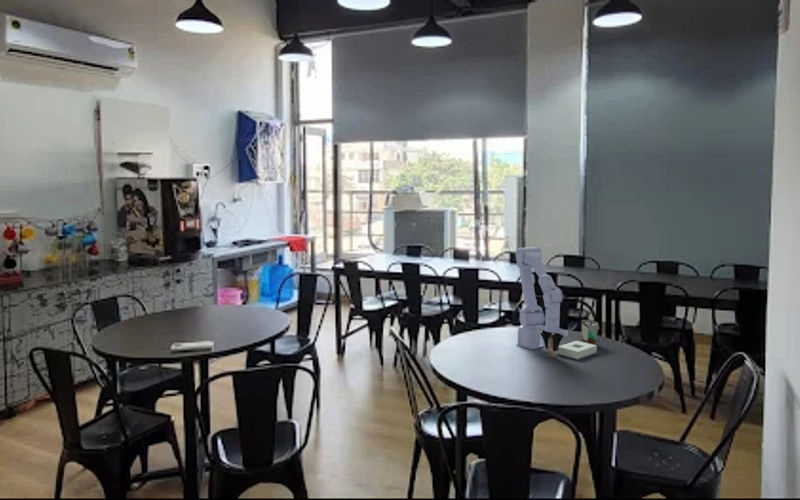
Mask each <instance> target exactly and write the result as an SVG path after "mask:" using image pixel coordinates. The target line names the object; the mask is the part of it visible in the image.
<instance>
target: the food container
mask: <svg viewBox="0 0 800 500" xmlns="http://www.w3.org/2000/svg"><path fill="white" fill-rule="evenodd" d="M580 325H581V342H584V343H589V344H593V345H597V338H598V331H599V329H600V325H599V322H597V321H593V320H589V319H581V324H580Z"/></svg>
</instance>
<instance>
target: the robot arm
mask: <svg viewBox="0 0 800 500" xmlns="http://www.w3.org/2000/svg"><path fill="white" fill-rule="evenodd" d="M542 259H543V253H542V250H541V248H540V247H539V246H534V247H532V246H529V247H518V248H517V249H516V252H515V260H516V261H515V262H516V266H517V267H518V268H519V274H520V275H519V276H520V281H521V289H522V294H523V295H522V296H523V302H524V303H523V304H524V305H523V307H521V308H520V310H519V323H520V326H519V327H518V329H517V343H516V344H515V345H516V346H519V347H521V348H522V347H523V348H525V349H526V348H527V349H528V350H537V349H540V348H543V347H545V350H548V337H552V340H553V351H556V352H557V350H558V347H559V346H560V343H561V341H562V339H563V338H564V337H565V338H566V337H568V336H569V331H568V330H565V329H562V328H560V320H561V319H560V316H561V315H560V314H561V312H560V311H561V309H560V308H561V303H562V302H563V300H564V294H563V291H562V289H560V288H559V287H558V286H556V284H555V282H554V280H553V278H552V276H551V275H550V274H548V273H547V271H546V268H545V265H544V264H543V261H542ZM532 268H533V270H534V271H535V273H536V275H537V277H538V280H537V282H538V284H539V286H540V289H541V291H542V293H543V295H542V298H543V304H544V307H545V313H544V311H543V308H542V307H541V306H540V305H538V304H537V299H536V293H535V284H534V280H533V272H532ZM544 324H545V325H544ZM541 338H542V340H543V343H544V344H541Z"/></svg>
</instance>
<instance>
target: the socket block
mask: <svg viewBox="0 0 800 500" xmlns="http://www.w3.org/2000/svg"><path fill="white" fill-rule="evenodd" d="M597 349H598V346H597V344H596V345H593V344H589V343H584V342H582V341H579V340H574V341H571V342H568V343H565V344H562V345H559V347H558V350H557V351H556V353H557V354H556V355H557V356H561V357H564V358H567V359H568V358H569V359H572V360H576V361H578V360H582V359H585V358H588V357H590V356H593V355H596V354H597V351H598V350H597Z"/></svg>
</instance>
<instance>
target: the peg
mask: <svg viewBox="0 0 800 500" xmlns="http://www.w3.org/2000/svg"><path fill="white" fill-rule="evenodd" d="M556 353H557V351H553V340H552V336H551V337H548V349H547V357H548V358H551V359H555V358H556Z"/></svg>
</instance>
